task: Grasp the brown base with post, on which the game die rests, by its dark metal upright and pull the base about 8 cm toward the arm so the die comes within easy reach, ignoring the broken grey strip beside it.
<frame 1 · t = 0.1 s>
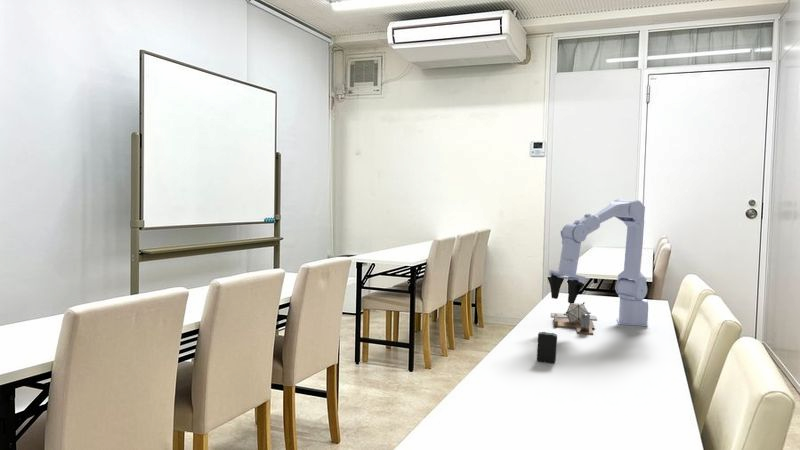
hand: (562, 300, 200), 10 cm above the table, tool pointing down, fingers open, 7 cm apart
game die: (576, 325, 210), resting on brown base with post
ink cartridge: (546, 362, 167), on the table
brown base with post: (574, 318, 207), point 3 cm above the table, slide at 2.5 cm, touching game die
broken grey strip: (573, 317, 222), on the table
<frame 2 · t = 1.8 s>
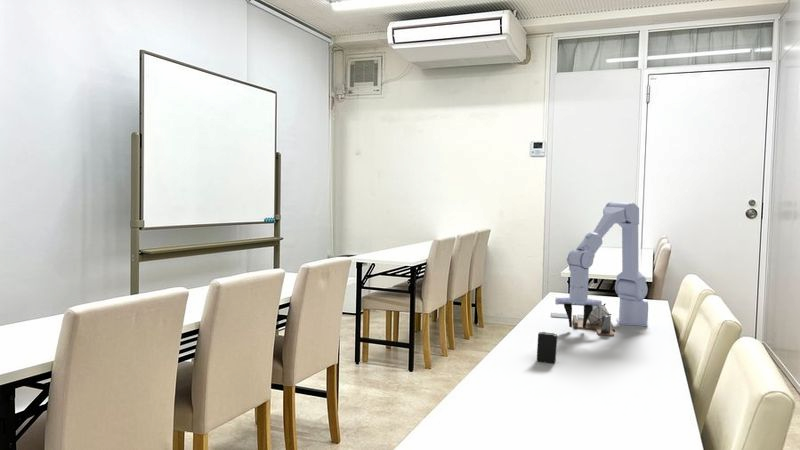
hand: (577, 327, 199), 2 cm above the table, tool pointing down, fingers open, 4 cm apart
game die: (596, 326, 209), resting on brown base with post
brown base with post: (594, 319, 205), point 3 cm above the table, slide at 9.0 cm, touching game die
everything else where it was.
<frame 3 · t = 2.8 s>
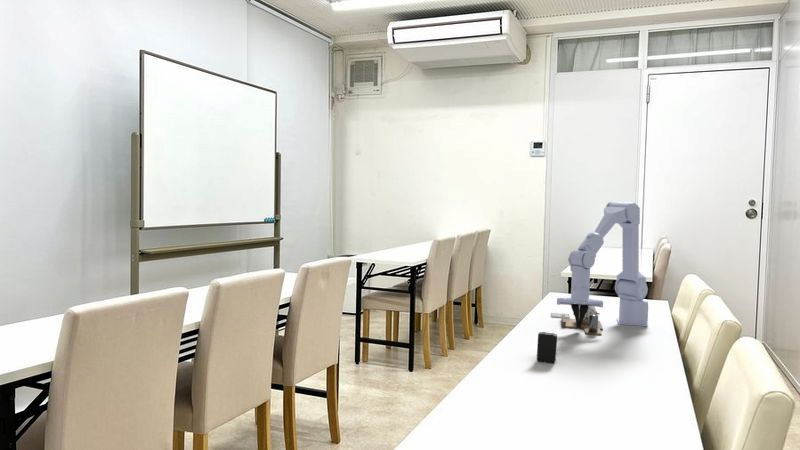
hand: (578, 327, 199), 2 cm above the table, tool pointing down, fingers closed
game die: (585, 325, 210), resting on brown base with post
brown base with post: (582, 318, 206), point 3 cm above the table, slide at 5.1 cm, touching game die
everything else where it was.
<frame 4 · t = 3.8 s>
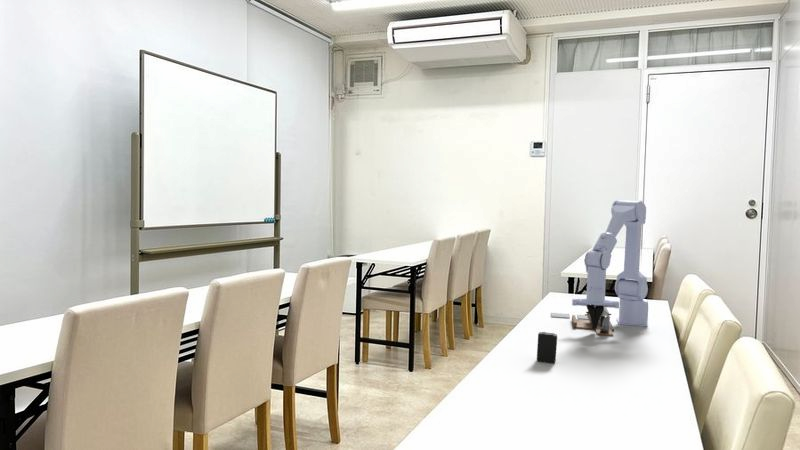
hand: (594, 328, 198), 2 cm above the table, tool pointing down, fingers closed
game die: (597, 326, 209), resting on brown base with post
brown base with post: (593, 319, 205), point 3 cm above the table, slide at 8.7 cm, touching game die, gripper
everything else where it was.
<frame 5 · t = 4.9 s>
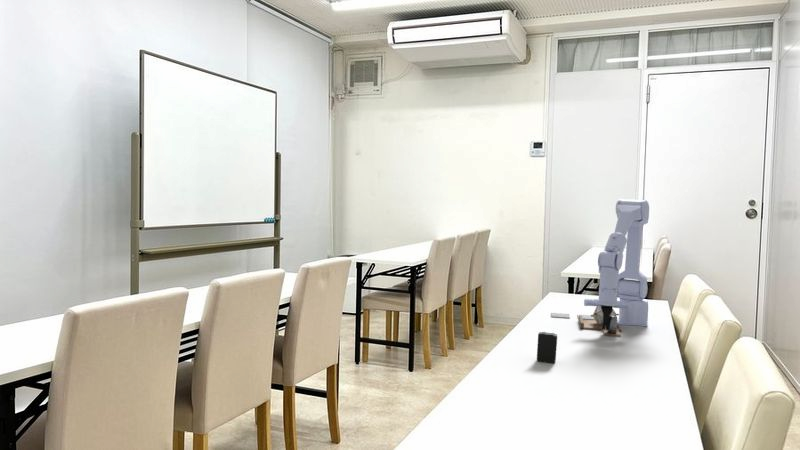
hand: (606, 329, 197), 2 cm above the table, tool pointing down, fingers closed, pressing on brown base with post
game die: (603, 327, 209), resting on brown base with post
brown base with post: (600, 319, 205), point 3 cm above the table, slide at 10.9 cm, touching game die, gripper
everything else where it was.
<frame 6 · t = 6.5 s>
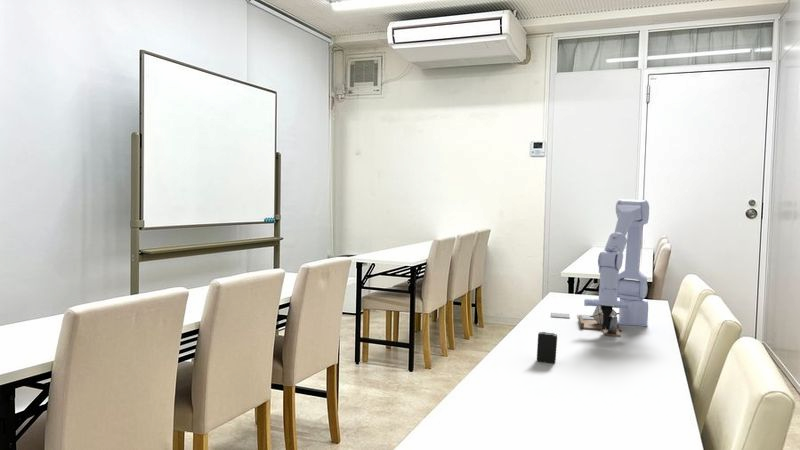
hand: (606, 329, 197), 2 cm above the table, tool pointing down, fingers closed, pressing on brown base with post
game die: (604, 327, 209), resting on brown base with post
brown base with post: (600, 319, 205), point 3 cm above the table, slide at 10.9 cm, touching game die, gripper
everything else where it was.
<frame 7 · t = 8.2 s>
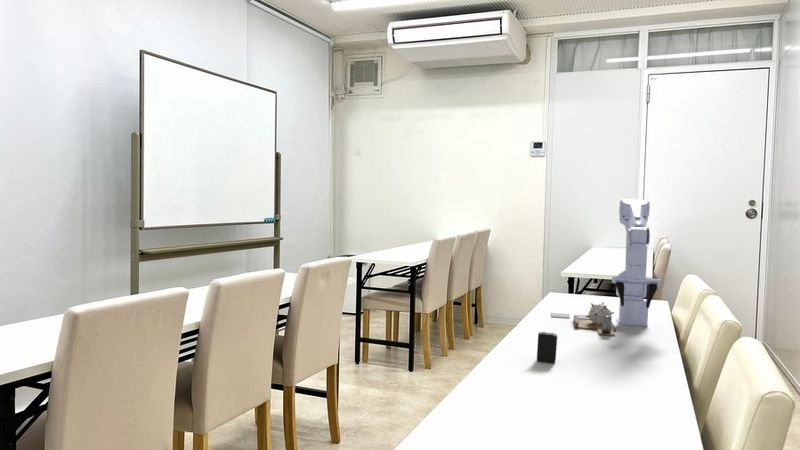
hand: (634, 306, 195), 10 cm above the table, tool pointing down, fingers open, 7 cm apart
game die: (599, 326, 209), resting on brown base with post
brown base with post: (595, 319, 205), point 3 cm above the table, slide at 9.2 cm, touching game die
everything else where it was.
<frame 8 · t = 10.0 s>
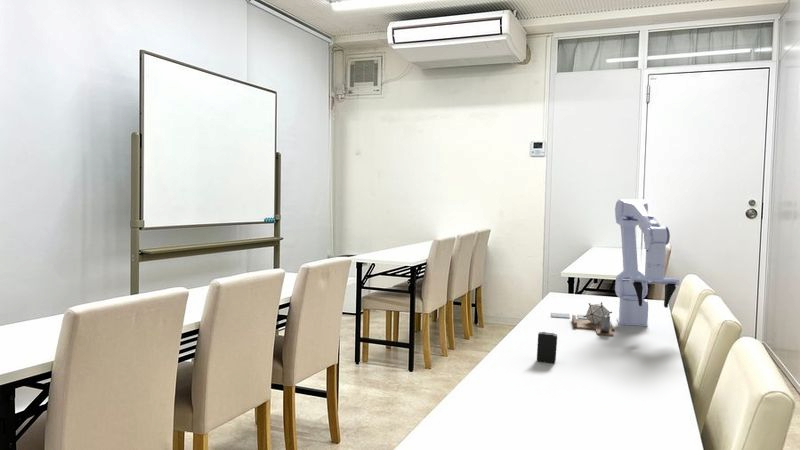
hand: (652, 306, 194), 10 cm above the table, tool pointing down, fingers open, 7 cm apart
game die: (597, 326, 209), resting on brown base with post
brown base with post: (593, 319, 205), point 3 cm above the table, slide at 8.7 cm, touching game die
everything else where it was.
at the end: brown base with post slide at 8.7 cm; game die inside the target area (2.1 cm from its centre), resting on brown base with post; game die tilted 3° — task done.
